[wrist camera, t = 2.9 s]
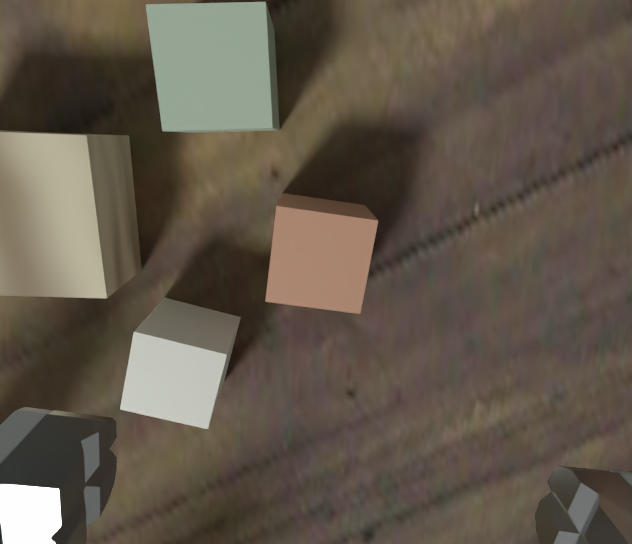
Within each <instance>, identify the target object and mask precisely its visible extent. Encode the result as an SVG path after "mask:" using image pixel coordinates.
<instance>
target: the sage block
mask: <svg viewBox="0 0 632 544" xmlns="http://www.w3.org/2000/svg"><path fill="white" fill-rule="evenodd" d="M146 11H147V18H148V26H149V34H150V41H151V49H152V56H153V64H154V72H155V79H156V87H157V94H158V102H159V110H160V117H161V125H162V131H170V132H226V131H264V130H280V129H279V109H278V89H277V69H276V49H275V30H274V27H273V24H272V20H271V17H270V14H269V11H268V7H267V4H266V2H232V3H189V4H146Z"/></svg>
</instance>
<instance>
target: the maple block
mask: <svg viewBox="0 0 632 544" xmlns="http://www.w3.org/2000/svg"><path fill="white" fill-rule="evenodd" d="M141 270H142V267H141V256H140V246H139V235H138V224H137V214H136V203H135V193H134V182H133V172H132V161H131V150H130V140H129V135H104V134H79V133H55V132H30V131H6V130H0V295H3V296H38V297H74V298H108V297H109V296H110V295H112V294H113V293H114V292H115V291H117V290H118V289H119V288H120V287H122V286H123V285H124V284H125V283H127V282H128V281H129V280H130V279H131V278H133V277H134V276H135V275H136V274H138V273H139V272H140V271H141Z"/></svg>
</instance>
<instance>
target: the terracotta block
mask: <svg viewBox="0 0 632 544" xmlns="http://www.w3.org/2000/svg"><path fill="white" fill-rule="evenodd" d="M377 225H378V220H377V218H376V217H375V216H374V215H373V214H372V213H371V211H370V210H369V209H368V208H367V207H366V206H365V205H362V204H355V203H348V202H341V201H334V200H327V199H321V198H314V197H307V196H300V195H293V194H287V193H282V195H281V197H280V199H279V202H278V204H277V207H276V215H275V224H274V232H273V240H272V249H271V257H270V266H269V274H268V282H267V291H266V299H265V302H272V303H280V304H287V305H295V306H303V307H311V308H318V309H326V310H334V311H342V312H349V313H357V314H360V312H361V307H362V302H363V297H364V292H365V286H366V281H367V276H368V271H369V266H370V261H371V256H372V251H373V246H374V241H375V235H376V230H377Z"/></svg>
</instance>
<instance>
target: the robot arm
mask: <svg viewBox="0 0 632 544" xmlns="http://www.w3.org/2000/svg"><path fill="white" fill-rule="evenodd" d="M116 437H117V435H116V421H115V420H114V419H113V418H110V417H103V416H95V415H88V414H80V413H72V412H65V411H57V410H54V411H52V410H46V409H38V408H30V407H23V408H21V409H18V410H16V411H14V412H13V413H12V414H11V415H10V416H9V417H8V418H7V419H6V420H5V421H4V422H3V423H2V424H0V544H86V542H87V529H86V526H87V525H89V524H90V523H92V522H93V521H94V520H96V519H97V518H99V517H100V516H101V514H102V512H103V510H104V508H105V506H106V504H107V502H108V500H109V497H110V494H111V491H112V488H113V485H114V481H115V475H116V463H117V458H116V456H115V455H114V454H113V453H112V451H111V450H110V447H111V445H112V444H113V442H114V440H115V439H116ZM548 484H549V487H550V489H551V493H549V494H548V495H547V496H545V497H544V498H543V499H541V500H540V502H539V505H538V508H537V511H536V514H535V521H536V532H537V535H538V538H539V541H540V544H632V472H624V471H612V470H611V471H606V470H596V469H586V468H576V467H566V466H558V467H557V468H556V469H555V470H553V471H552V473H551V476H550V478H549V480H548Z"/></svg>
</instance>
